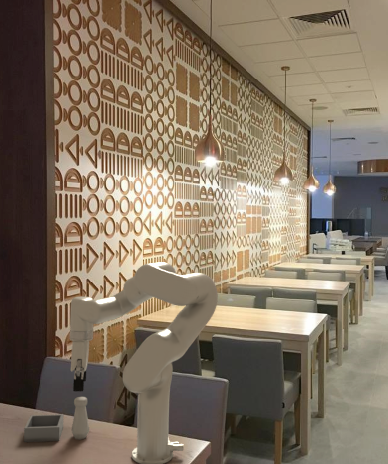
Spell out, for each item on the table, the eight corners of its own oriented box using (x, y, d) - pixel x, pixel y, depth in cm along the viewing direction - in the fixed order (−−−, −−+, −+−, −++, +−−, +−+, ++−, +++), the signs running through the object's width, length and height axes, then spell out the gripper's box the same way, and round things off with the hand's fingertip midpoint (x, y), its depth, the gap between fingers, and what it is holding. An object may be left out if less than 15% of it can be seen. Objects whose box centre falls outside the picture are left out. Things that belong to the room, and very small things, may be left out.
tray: (63, 427, 176) (63, 414, 176) (59, 440, 165) (59, 427, 165) (30, 428, 175) (30, 415, 175) (24, 442, 164) (24, 428, 164)
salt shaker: (90, 433, 172) (91, 395, 171) (87, 440, 166) (88, 401, 166) (73, 433, 171) (73, 394, 171) (69, 440, 166) (70, 400, 165)
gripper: (72, 328, 176) (70, 377, 177) (66, 341, 159) (65, 395, 160) (94, 328, 177) (93, 377, 178) (91, 341, 160) (89, 395, 161)
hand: (79, 386), depth 169 cm, fingers open, 9 cm apart
